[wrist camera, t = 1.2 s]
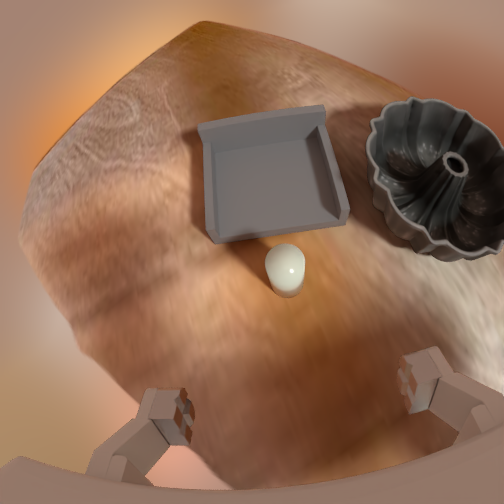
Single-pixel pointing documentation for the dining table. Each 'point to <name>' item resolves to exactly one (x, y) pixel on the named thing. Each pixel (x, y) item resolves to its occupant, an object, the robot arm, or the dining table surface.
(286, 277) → the dome-topped cream cylinder
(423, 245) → the bundt pan
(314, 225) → the grey open tray
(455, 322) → the dining table surface
